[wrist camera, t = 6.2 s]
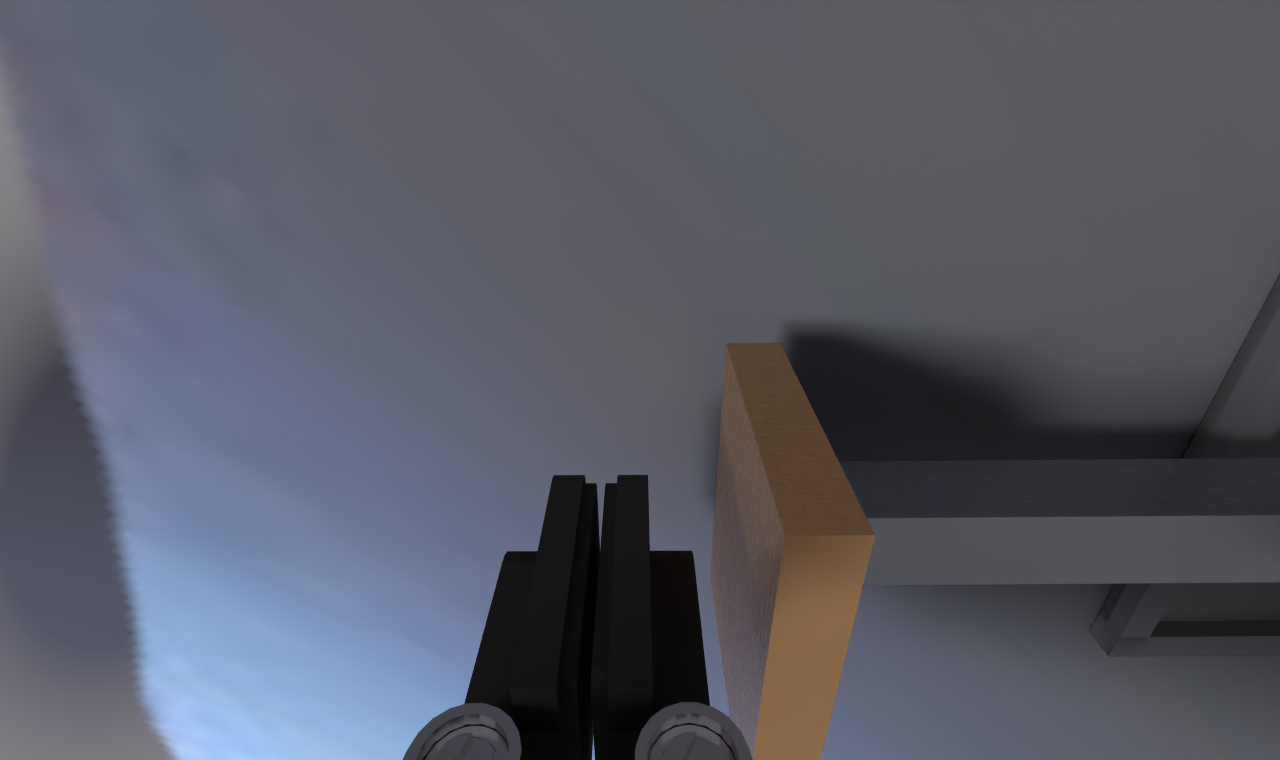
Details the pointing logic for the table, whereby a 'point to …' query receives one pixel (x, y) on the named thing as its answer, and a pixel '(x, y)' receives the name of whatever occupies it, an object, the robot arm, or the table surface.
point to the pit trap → (1213, 612)
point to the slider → (931, 538)
